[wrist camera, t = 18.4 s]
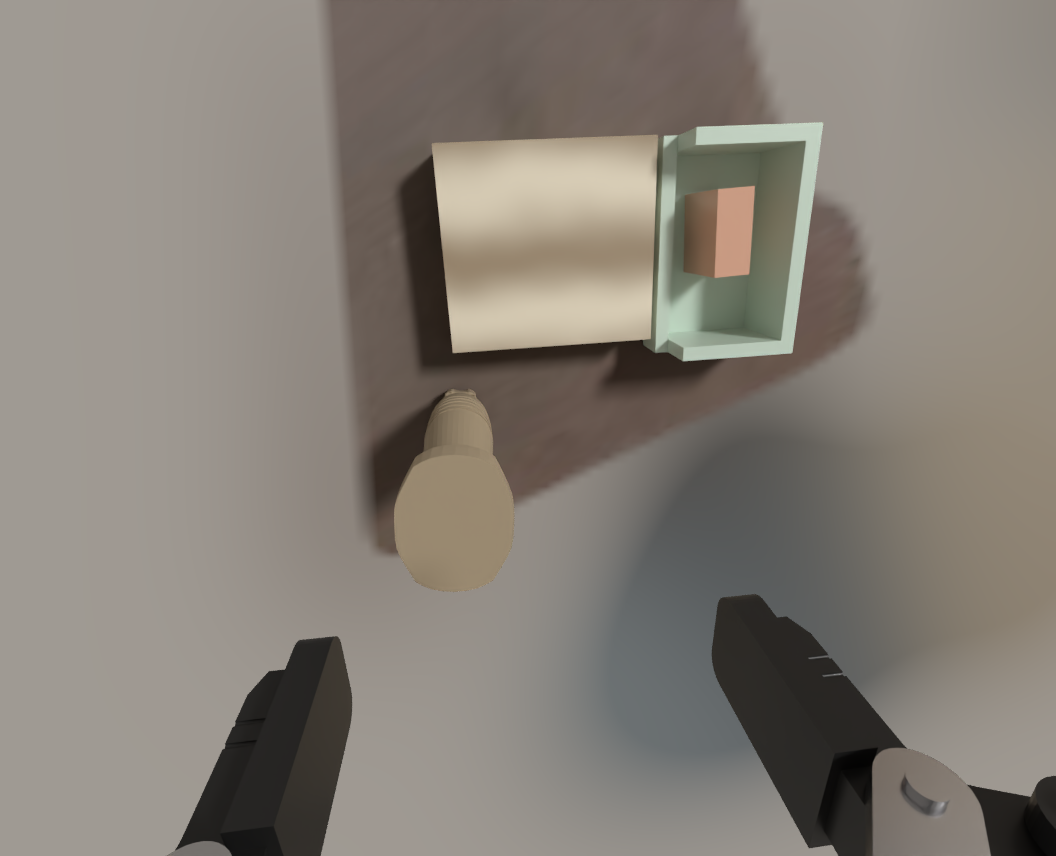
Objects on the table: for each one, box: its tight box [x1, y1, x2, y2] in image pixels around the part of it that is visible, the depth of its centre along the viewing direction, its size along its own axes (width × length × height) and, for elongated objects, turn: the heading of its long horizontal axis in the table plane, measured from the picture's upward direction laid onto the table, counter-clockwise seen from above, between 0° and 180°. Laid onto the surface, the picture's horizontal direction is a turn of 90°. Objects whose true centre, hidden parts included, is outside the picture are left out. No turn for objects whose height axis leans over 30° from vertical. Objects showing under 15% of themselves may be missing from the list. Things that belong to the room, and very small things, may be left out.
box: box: [643, 122, 823, 361], centre depth 31 cm, size 12×8×5 cm, turn 3°
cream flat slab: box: [432, 135, 658, 353], centre depth 31 cm, size 11×12×3 cm
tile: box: [684, 186, 755, 278], centre depth 30 cm, size 4×4×2 cm
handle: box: [394, 389, 514, 592], centre depth 28 cm, size 5×6×15 cm
